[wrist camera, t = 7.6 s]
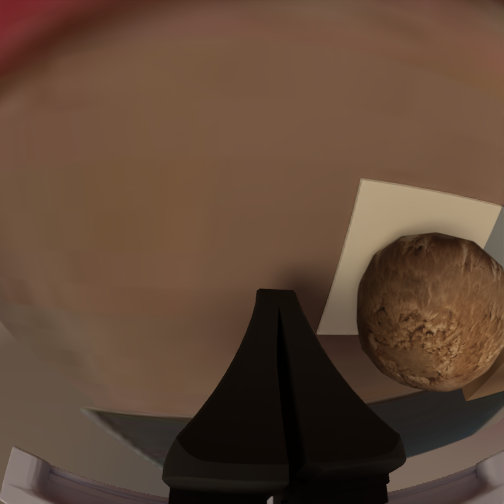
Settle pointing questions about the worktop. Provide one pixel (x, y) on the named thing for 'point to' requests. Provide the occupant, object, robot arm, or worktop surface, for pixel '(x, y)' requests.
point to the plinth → (487, 381)
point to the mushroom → (432, 311)
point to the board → (401, 224)
